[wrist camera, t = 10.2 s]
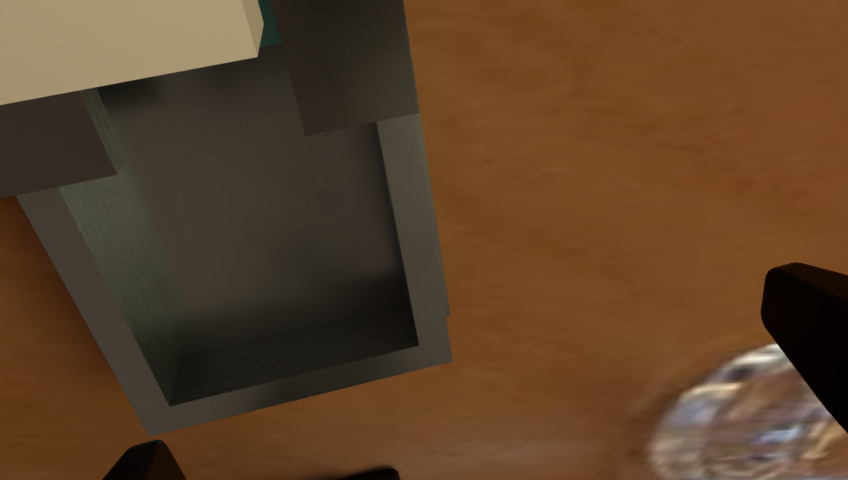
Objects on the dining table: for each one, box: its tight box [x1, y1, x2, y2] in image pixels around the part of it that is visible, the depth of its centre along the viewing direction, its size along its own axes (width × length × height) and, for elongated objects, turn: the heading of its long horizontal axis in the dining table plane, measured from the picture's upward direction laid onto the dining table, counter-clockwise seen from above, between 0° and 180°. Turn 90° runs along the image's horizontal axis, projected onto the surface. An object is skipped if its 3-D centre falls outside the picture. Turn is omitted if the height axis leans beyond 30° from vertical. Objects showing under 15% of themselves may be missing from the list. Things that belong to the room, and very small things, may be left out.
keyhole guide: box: [0, 0, 452, 436], centre depth 16 cm, size 18×11×4 cm, turn 8°
